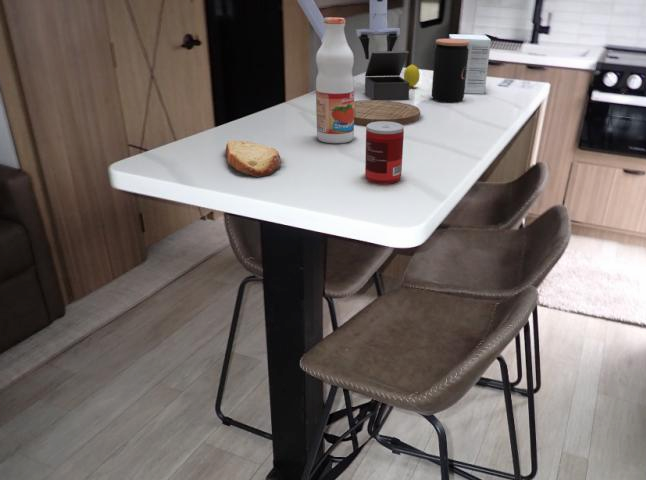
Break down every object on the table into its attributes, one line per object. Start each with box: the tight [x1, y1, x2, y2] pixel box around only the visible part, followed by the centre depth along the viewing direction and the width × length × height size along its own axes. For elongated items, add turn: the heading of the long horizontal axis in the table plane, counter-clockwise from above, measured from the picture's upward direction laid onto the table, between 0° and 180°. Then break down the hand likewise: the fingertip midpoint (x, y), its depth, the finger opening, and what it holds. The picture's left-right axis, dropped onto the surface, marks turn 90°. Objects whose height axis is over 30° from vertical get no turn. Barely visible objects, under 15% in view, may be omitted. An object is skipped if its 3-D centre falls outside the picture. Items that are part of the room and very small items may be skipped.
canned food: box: [364, 121, 405, 185], centre depth 123 cm, size 8×8×11 cm
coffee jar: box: [431, 38, 469, 104], centre depth 192 cm, size 11×11×18 cm
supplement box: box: [448, 33, 492, 95], centre depth 207 cm, size 13×13×18 cm
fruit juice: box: [315, 16, 355, 144], centre depth 144 cm, size 9×9×28 cm
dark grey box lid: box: [364, 50, 410, 77], centre depth 195 cm, size 12×12×4 cm
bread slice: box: [225, 140, 282, 178], centre depth 132 cm, size 18×18×4 cm
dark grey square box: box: [364, 75, 410, 101], centre depth 197 cm, size 12×12×5 cm
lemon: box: [403, 63, 421, 89], centre depth 211 cm, size 6×6×8 cm
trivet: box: [354, 99, 421, 127], centre depth 174 cm, size 25×25×2 cm
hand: (377, 58), depth 202 cm, fingers open, 7 cm apart
